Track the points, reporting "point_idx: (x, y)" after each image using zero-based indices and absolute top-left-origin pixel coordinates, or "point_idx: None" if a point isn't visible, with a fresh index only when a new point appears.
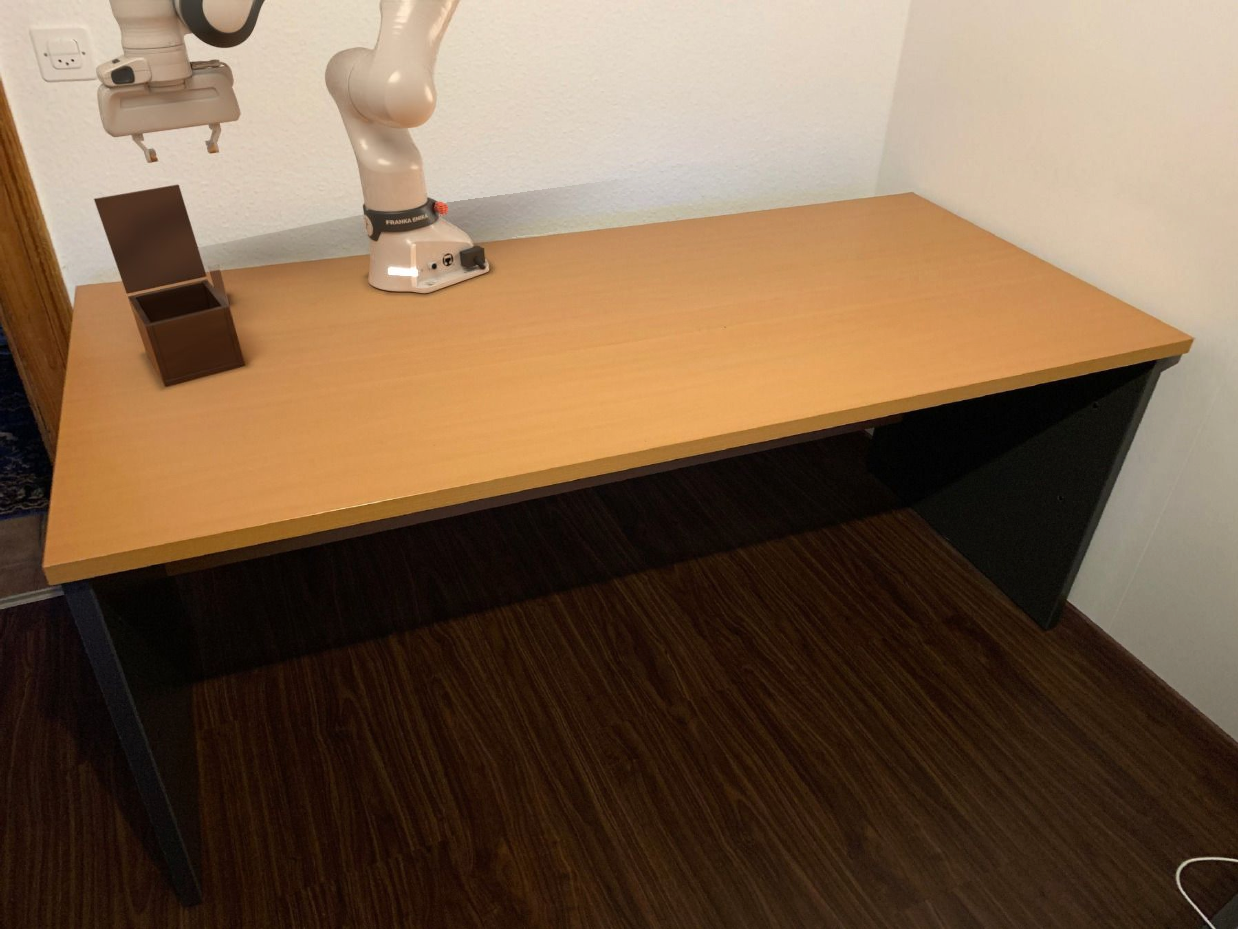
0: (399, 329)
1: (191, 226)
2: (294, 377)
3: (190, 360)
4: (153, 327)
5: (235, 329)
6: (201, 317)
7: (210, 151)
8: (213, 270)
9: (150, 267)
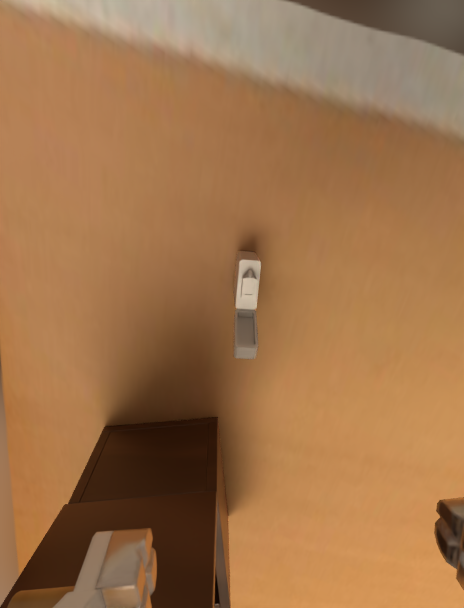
0: None
1: (214, 589)
2: (274, 565)
3: None
4: None
5: (229, 569)
6: None
7: (444, 553)
8: (242, 357)
9: None
